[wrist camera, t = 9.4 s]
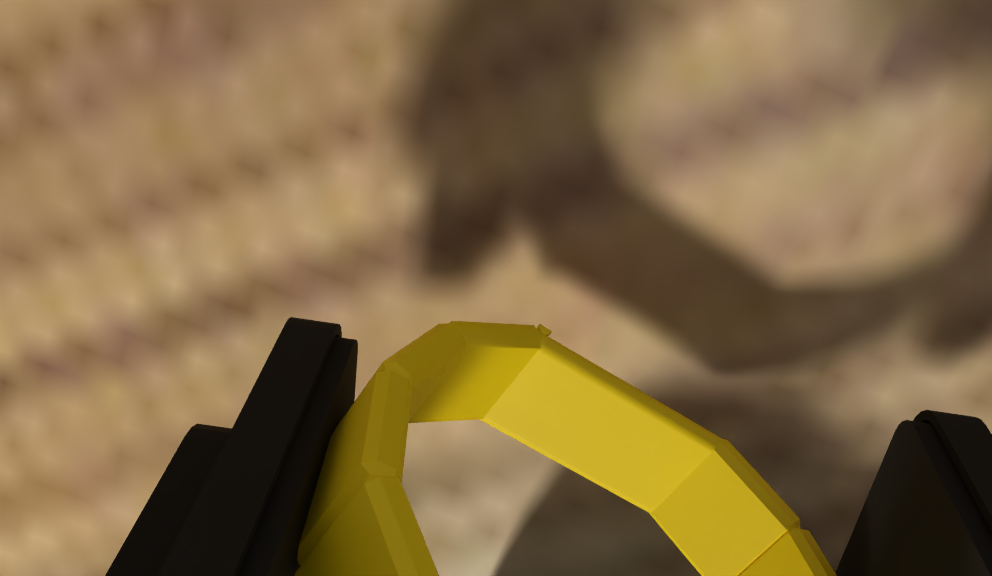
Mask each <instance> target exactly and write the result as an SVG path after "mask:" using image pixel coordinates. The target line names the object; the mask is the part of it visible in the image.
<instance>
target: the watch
mask: <svg viewBox="0 0 992 576" xmlns="http://www.w3.org/2000/svg"><path fill="white" fill-rule="evenodd" d="M550 334H551V331H550V330H549V329H547V328H545V327H544V326H542V325H541V324H539V325H538V327H537V329H536V328H535V326H534V325H518V324H499V323H481V322H463V321H451V322H450V323H448V324H438V325H437V326H435V327H434V328H432V329H431V330H429V331H428V332H426V333H425V334H423V335H422V336H420V337H419V338H417V339H416V340H414V341H413V342H412V343H410V344H409V345H407V346H406V347H404V348H403V349H401V350H400V351H398V352H397V353H395V354H394V355H392V356H391V357H389V358H388V359H387V360H385V361H384V362H383V363H382V364H381V366H380V367H379V368H378V370H377V371H376V373H375V374H374V375H373V377H372V378H371V380H370V381H369V382H368V384H367V385H366V387H365V388H364V389H363V391H362V392H361V394H360V395H359V396H358V398H357V399H356V401H355V402H354V403H353V405H352V406H351V407H350V409H349V410H348V412H347V413H346V414H345V416H344V417H343V419H342V420H341V421H340V423H339V424H338V426H337V427H336V428H335V431H334V433H333V434H332V435H331V438H330V441H329V444H328V448H327V451H326V455H325V458H324V462H323V465H322V468H321V472H320V475H319V479H318V482H317V485H316V489H315V492H314V496H313V499H312V502H311V506H310V509H309V513H308V516H307V520H306V523H305V526H304V530H303V533H302V537H301V540H300V543H299V547H298V556H297V561H298V564H299V565H301V566H300V567H299V569H298V570H297V572H296V573H295V576H439V575H438V572H437V570H436V567H435V565H434V562H433V560H432V557H431V555H430V552H429V550H428V547H427V545H426V543H425V540H424V538H423V535H422V533H421V530H420V528H419V525H418V523H417V520H416V518H415V515H414V513H413V510H412V508H411V506H410V503H409V501H408V498H407V496H406V493H405V491H404V488H403V486H402V484H401V482H402V475H403V466H404V457H405V448H406V439H407V430H408V423H418V422H436V421H455V420H473V419H480V420H482V421H483V422H485V423H487V424H489V425H491V426H492V427H494V428H496V429H498V430H500V431H501V432H503V433H505V434H507V435H509V436H511V437H512V438H514V439H516V440H518V441H520V442H521V443H523V444H525V445H527V446H529V447H530V448H532V449H534V450H536V451H538V452H540V453H541V454H543V455H545V456H547V457H549V458H550V459H552V460H554V461H556V462H558V463H560V464H561V465H563V466H565V467H567V468H569V469H570V470H572V471H574V472H576V473H578V474H579V475H581V476H583V477H585V478H587V479H589V480H590V481H592V482H594V483H596V484H598V485H599V486H601V487H603V488H605V489H607V490H608V491H610V492H612V493H614V494H616V495H618V496H619V497H621V498H623V499H625V500H627V501H628V502H630V503H632V504H634V505H636V506H638V507H639V508H641V509H643V510H645V511H647V512H648V513H650V515H651V516H652V517H653V519H654V520H655V521H656V522H657V523H658V525H659V526H660V527H661V528H662V529H663V530H664V532H665V533H666V534H667V535H668V536H669V538H670V539H671V540H672V541H673V542H674V544H675V545H676V546H677V547H678V548H679V549H680V551H681V552H682V553H683V554H684V555H685V557H686V558H687V559H688V560H689V561H690V563H691V564H692V565H693V566H694V567H695V568H696V570H697V571H698V572H699V573H700V574H701V576H837V575H836V574H835V572H834V570H833V569H832V567H831V565H830V564H829V562H828V560H827V559H826V557H825V556H824V554H823V552H822V551H821V549H820V547H819V546H818V544H817V543H816V541H815V539H814V538H813V536H812V534H811V533H810V531H808V530H804V529H800V518H799V517H798V516H797V515H796V514H795V513H794V512H793V511H792V509H791V508H790V507H789V506H788V505H787V504H786V503H785V502H784V501H783V500H782V499H781V497H780V496H779V495H778V494H777V493H776V492H775V491H774V490H773V489H772V488H771V487H770V486H769V484H768V483H767V482H766V481H765V480H764V479H763V478H762V477H761V476H760V475H759V474H758V472H757V471H756V470H755V469H754V468H753V467H752V466H751V465H750V464H749V463H748V462H747V461H746V459H745V458H744V457H743V456H742V455H741V454H740V453H739V452H738V451H737V450H736V449H735V447H734V446H733V445H732V444H731V443H730V442H729V441H728V440H726V439H722V438H720V437H719V436H717V435H715V434H713V433H712V432H710V431H708V430H707V429H705V428H703V427H701V426H700V425H698V424H696V423H695V422H693V421H691V420H690V419H688V418H686V417H684V416H683V415H681V414H679V413H678V412H676V411H674V410H672V409H671V408H669V407H667V406H666V405H664V404H662V403H661V402H659V401H657V400H655V399H654V398H652V397H650V396H649V395H647V394H645V393H643V392H642V391H640V390H638V389H637V388H635V387H633V386H632V385H630V384H628V383H626V382H625V381H623V380H621V379H620V378H618V377H616V376H614V375H613V374H611V373H609V372H608V371H606V370H604V369H603V368H601V367H599V366H597V365H596V364H594V363H592V362H591V361H589V360H587V359H585V358H584V357H582V356H580V355H579V354H577V353H575V352H574V351H572V350H570V349H568V348H567V347H565V346H563V345H562V344H560V343H558V342H556V341H555V340H553V339H551V338H550V337H548V336H549V335H550Z"/></svg>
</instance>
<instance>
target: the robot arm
mask: <svg viewBox="0 0 992 576" xmlns="http://www.w3.org/2000/svg"><path fill="white" fill-rule="evenodd" d="M341 337H342V332H341V326H340V324H334V323H327V322H320V321H314V320H307V319H300V318H293V317H291V318H289V319H288V320H287V322H286V324H285V326H284V328H283V329H282V331H281V333H280V335H279V337H278V339H277V341H276V343H275V345H274V347H273V349H272V351H271V353H270V355H269V357H268V359H267V361H266V363H265V365H264V367H263V369H262V371H261V373H260V375H259V377H258V379H257V381H256V383H255V385H254V387H253V389H252V391H251V393H250V395H249V397H248V398H247V400H246V402H245V404H244V406H243V408H242V410H241V412H240V414H239V416H238V418H237V420H236V422H235V424H234V426H233V428H232V429H230V428H223V427H216V426H210V425H203V424H196V425H195V426H193V427H191V429H190V430H189V431H188V433H187V434H186V436H185V437H184V439H183V440H182V442H181V444H180V446H179V447H178V449H177V451H176V453H175V454H174V456H173V458H172V460H171V461H170V463H169V465H168V467H167V468H166V470H165V472H164V474H163V475H162V477H161V479H160V481H159V482H158V484H157V486H156V488H155V489H154V491H153V493H152V495H151V496H150V498H149V500H148V502H147V503H146V505H145V507H144V509H143V510H142V512H141V514H140V516H139V517H138V519H137V521H136V523H135V524H134V526H133V528H132V530H131V531H130V533H129V535H128V537H127V538H126V540H125V542H124V544H123V545H122V547H121V549H120V551H119V552H118V554H117V556H116V558H115V559H114V561H113V563H112V565H111V566H110V568H109V570H108V572H107V573H106V575H105V576H295V573H296V572H297V570H298V569H299V567H300V566H301V565H299V564H298V561H297V556H298V547H299V543H300V540H301V537H302V533H303V530H304V526H305V523H306V520H307V516H308V513H309V509H310V506H311V502H312V499H313V496H314V492H315V489H316V485H317V482H318V479H319V475H320V472H321V468H322V465H323V462H324V458H325V455H326V451H327V448H328V444H329V441H330V438H331V435H332V434H333V433H334V431H335V428H336V427H337V426H338V424H339V423H340V421H341V420H342V419H343V417H344V416H345V414H346V413H347V412H348V410H349V409H350V407H351V406H352V405H353V403H354V398H355V383H356V368H357V354H358V343H357V340H354V339H347V338H341ZM835 574H836V575H837V576H992V434H991V433H990V431H989V429H988V428H987V426H986V425H985V424H984V423H983V421H982V420H981V419H979V418H976V417H971V416H964V415H958V414H951V413H944V412H937V411H930V410H925V411H921V412H920V413H919V414H918V415H917V416H916V417H915V419H914V420H913V421H909V420H905V421H902V422H901V423H900V424H899V425H898V427H897V429H896V431H895V433H894V435H893V438H892V440H891V442H890V445H889V447H888V449H887V452H886V454H885V457H884V459H883V461H882V464H881V466H880V468H879V471H878V473H877V476H876V478H875V480H874V483H873V485H872V487H871V490H870V492H869V495H868V497H867V499H866V502H865V504H864V506H863V509H862V511H861V513H860V516H859V518H858V521H857V523H856V525H855V528H854V530H853V532H852V535H851V537H850V540H849V542H848V544H847V547H846V549H845V551H844V554H843V556H842V559H841V561H840V563H839V566H838V568H837V570H836V573H835Z"/></svg>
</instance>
